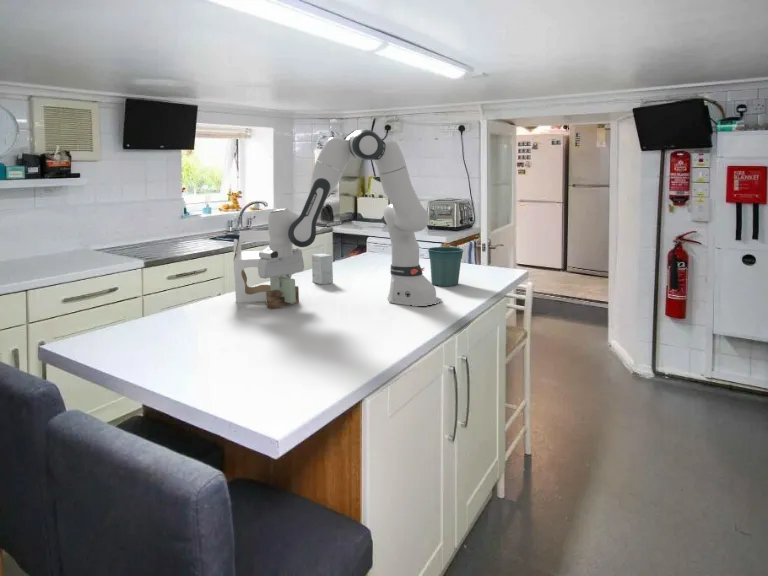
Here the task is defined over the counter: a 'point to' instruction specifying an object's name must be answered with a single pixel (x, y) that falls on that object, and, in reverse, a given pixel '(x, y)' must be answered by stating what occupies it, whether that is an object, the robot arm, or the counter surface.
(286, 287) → the crosspiece
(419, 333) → the counter surface
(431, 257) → the flower pot
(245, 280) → the gable box
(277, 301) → the upright
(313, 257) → the small box
